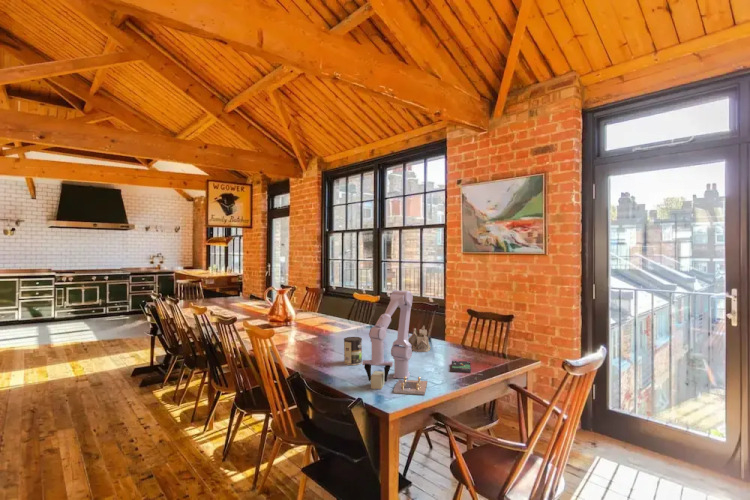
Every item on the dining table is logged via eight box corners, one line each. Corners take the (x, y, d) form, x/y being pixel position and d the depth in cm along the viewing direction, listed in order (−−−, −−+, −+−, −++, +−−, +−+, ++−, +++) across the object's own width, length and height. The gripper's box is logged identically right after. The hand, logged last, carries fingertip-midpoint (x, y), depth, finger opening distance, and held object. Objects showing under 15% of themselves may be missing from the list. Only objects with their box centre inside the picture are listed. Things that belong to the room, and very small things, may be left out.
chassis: (398, 382, 204) (398, 374, 204) (427, 384, 201) (427, 375, 201) (393, 393, 190) (393, 384, 190) (424, 395, 187) (424, 386, 187)
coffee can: (363, 360, 244) (363, 336, 244) (359, 365, 234) (359, 340, 234) (346, 360, 246) (346, 336, 246) (341, 364, 236) (341, 340, 236)
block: (374, 383, 204) (374, 371, 204) (384, 383, 203) (384, 371, 203) (371, 388, 196) (370, 376, 196) (381, 389, 195) (381, 376, 195)
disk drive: (451, 365, 236) (451, 372, 221) (451, 360, 236) (451, 367, 221) (470, 366, 234) (471, 373, 219) (470, 361, 234) (471, 368, 219)
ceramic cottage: (408, 345, 282) (409, 323, 281) (432, 347, 277) (433, 325, 276) (402, 352, 267) (403, 329, 266) (427, 355, 262) (428, 331, 261)
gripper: (360, 353, 197) (361, 382, 197) (391, 355, 194) (391, 384, 194) (364, 350, 204) (364, 377, 204) (393, 351, 201) (393, 379, 201)
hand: (377, 380), depth 199 cm, fingers open, 7 cm apart
